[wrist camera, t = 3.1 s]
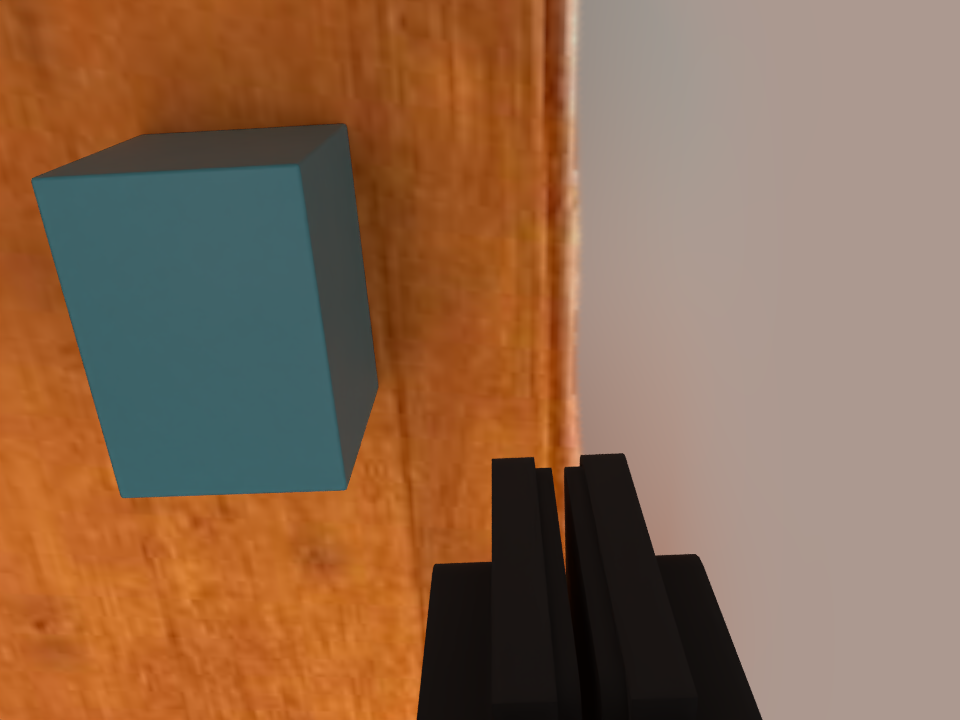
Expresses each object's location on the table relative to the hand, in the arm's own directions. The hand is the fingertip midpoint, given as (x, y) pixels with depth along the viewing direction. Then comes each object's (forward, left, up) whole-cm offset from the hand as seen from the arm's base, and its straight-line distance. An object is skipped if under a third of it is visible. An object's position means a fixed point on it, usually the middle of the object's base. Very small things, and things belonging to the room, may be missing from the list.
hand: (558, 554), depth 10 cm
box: (+4, -5, -11) cm, 13 cm away
